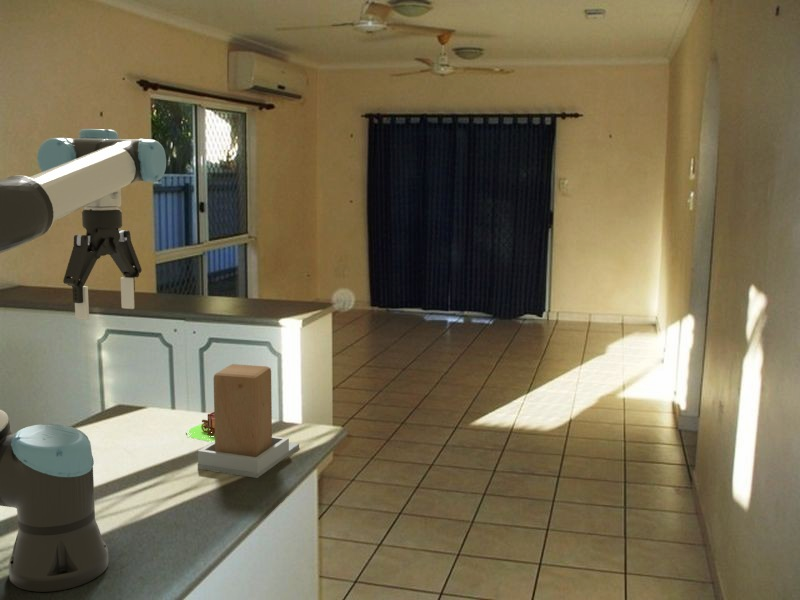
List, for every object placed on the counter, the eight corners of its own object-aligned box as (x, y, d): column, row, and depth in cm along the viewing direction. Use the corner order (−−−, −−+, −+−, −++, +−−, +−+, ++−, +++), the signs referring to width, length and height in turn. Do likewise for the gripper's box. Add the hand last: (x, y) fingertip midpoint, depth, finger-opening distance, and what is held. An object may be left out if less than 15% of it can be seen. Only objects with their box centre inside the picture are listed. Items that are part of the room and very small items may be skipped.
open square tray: (257, 478, 182) (257, 455, 181) (197, 468, 186) (197, 446, 185) (299, 447, 200) (298, 427, 199) (243, 440, 205) (243, 419, 204)
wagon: (226, 447, 202) (226, 421, 201) (176, 437, 208) (175, 412, 207) (263, 429, 215) (263, 405, 214) (215, 420, 221) (214, 397, 220)
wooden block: (257, 467, 185) (255, 377, 181) (213, 463, 187) (211, 373, 183) (273, 451, 194) (272, 365, 191) (232, 448, 196) (230, 362, 193)
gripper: (71, 212, 158) (76, 325, 162) (156, 206, 181) (159, 305, 185) (39, 210, 161) (45, 322, 165) (127, 204, 184) (131, 302, 187)
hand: (106, 313), depth 175 cm, fingers open, 13 cm apart
